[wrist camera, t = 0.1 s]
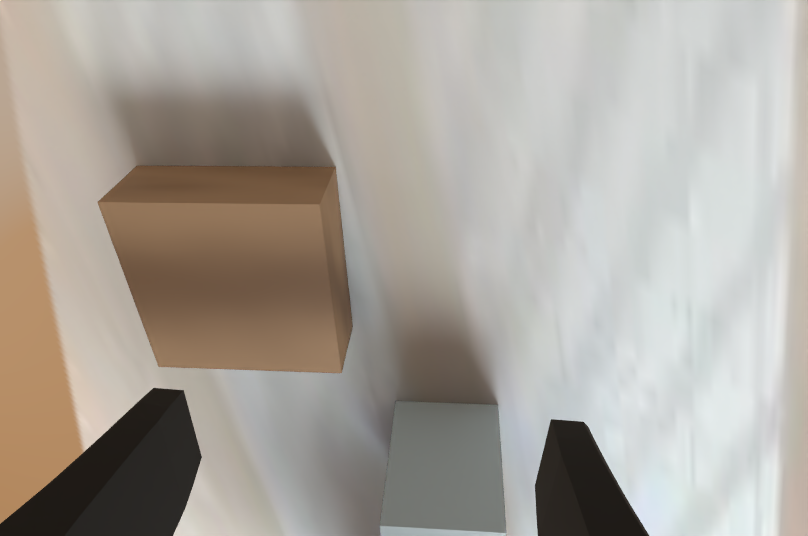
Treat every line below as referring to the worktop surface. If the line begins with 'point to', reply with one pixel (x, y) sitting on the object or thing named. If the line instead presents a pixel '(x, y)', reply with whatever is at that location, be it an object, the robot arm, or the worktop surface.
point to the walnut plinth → (235, 265)
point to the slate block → (444, 471)
